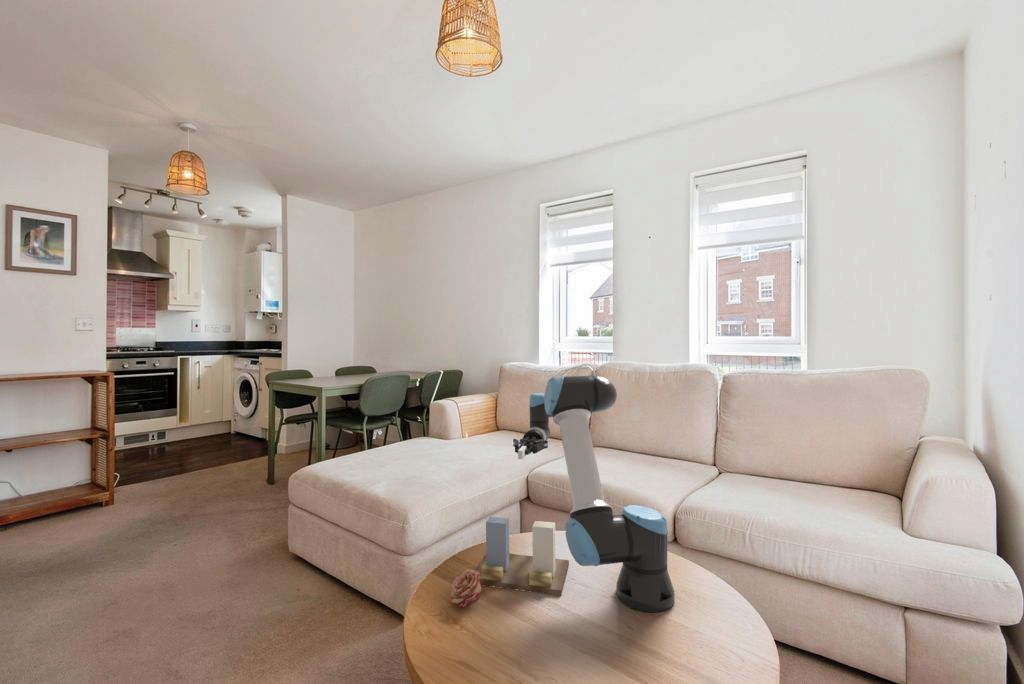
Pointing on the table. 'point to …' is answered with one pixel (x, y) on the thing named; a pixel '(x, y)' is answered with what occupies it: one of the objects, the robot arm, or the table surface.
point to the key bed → (524, 575)
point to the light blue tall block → (497, 542)
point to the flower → (466, 587)
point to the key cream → (544, 547)
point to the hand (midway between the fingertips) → (520, 454)
